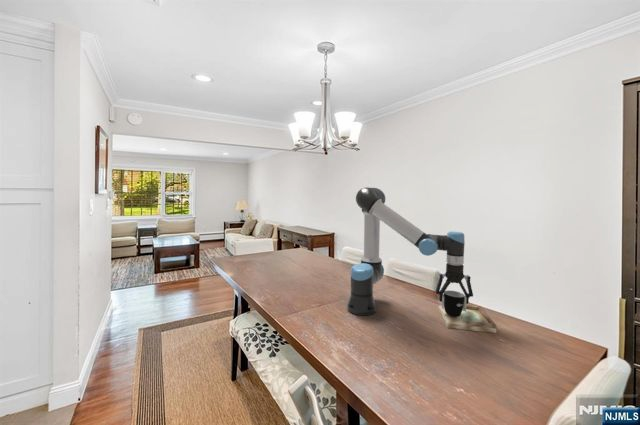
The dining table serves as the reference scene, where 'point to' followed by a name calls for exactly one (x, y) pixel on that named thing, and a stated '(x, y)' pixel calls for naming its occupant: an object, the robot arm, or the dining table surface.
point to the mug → (453, 302)
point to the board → (470, 320)
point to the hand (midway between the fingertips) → (453, 308)
